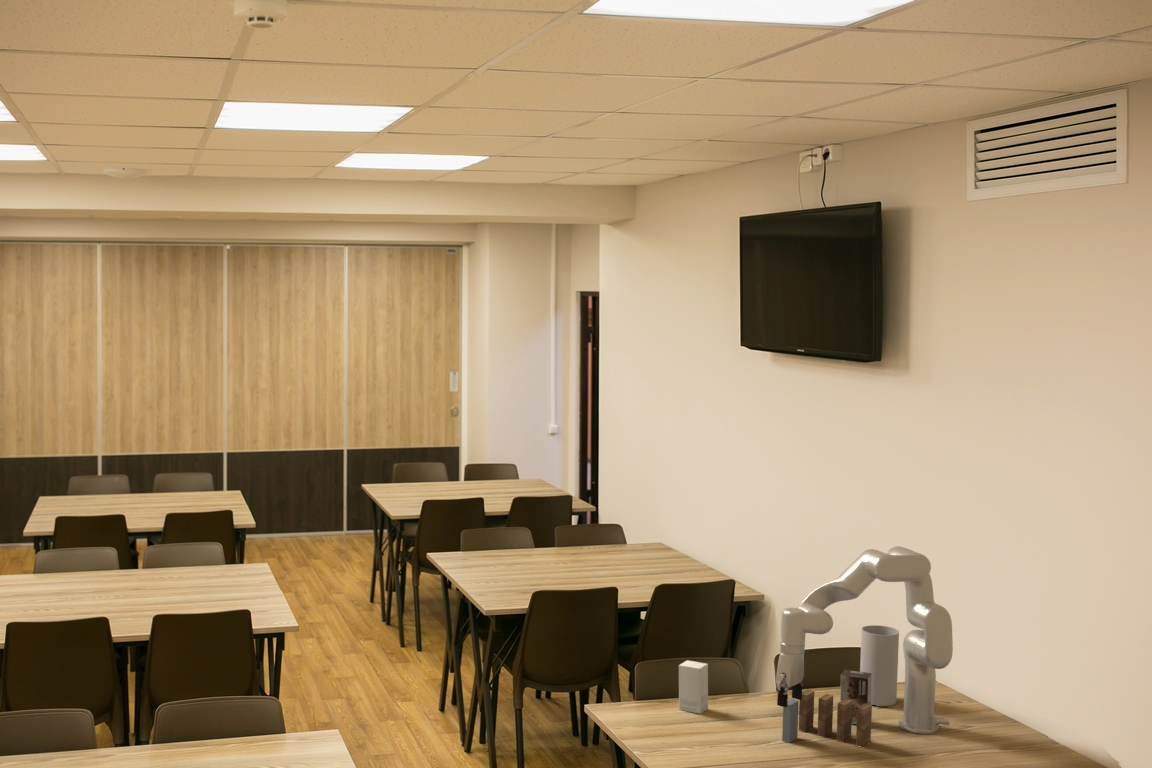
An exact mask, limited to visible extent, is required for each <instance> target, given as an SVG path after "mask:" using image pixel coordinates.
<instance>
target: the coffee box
mask: <svg viewBox="0 0 1152 768" xmlns="http://www.w3.org/2000/svg"><path fill="white" fill-rule="evenodd" d="M844 699H850V700H852V725H853V724H857V708H858V707H860V706H861V705H863V704H864V703H866V704H870V705H871V673H866V672H860V670H859V671H858V670H853V669H852V670H851V669H844V670H843V672H841V674H840V701H842V700H844ZM840 701H839V702H840Z"/></svg>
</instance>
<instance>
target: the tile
mask: <svg viewBox="0 0 1152 768" xmlns="http://www.w3.org/2000/svg"><path fill="white" fill-rule="evenodd" d="M799 702H800V700H798V699H795V698H791V699H789V700H788V701H787V707H783V708H782V733H781V734H782V735H781V736H782V737H781V738H782V739H781V740H782V742H783V743H788V744H790V743H791V742H793V741H796V740H797V739H798V733H799V732H798V731H799Z"/></svg>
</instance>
